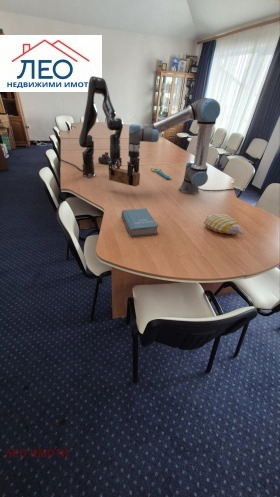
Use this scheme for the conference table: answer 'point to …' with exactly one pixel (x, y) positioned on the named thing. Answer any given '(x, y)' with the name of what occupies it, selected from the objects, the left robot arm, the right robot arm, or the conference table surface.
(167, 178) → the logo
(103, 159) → the laser sight
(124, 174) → the bar
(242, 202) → the conference table surface
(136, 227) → the book
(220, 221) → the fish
